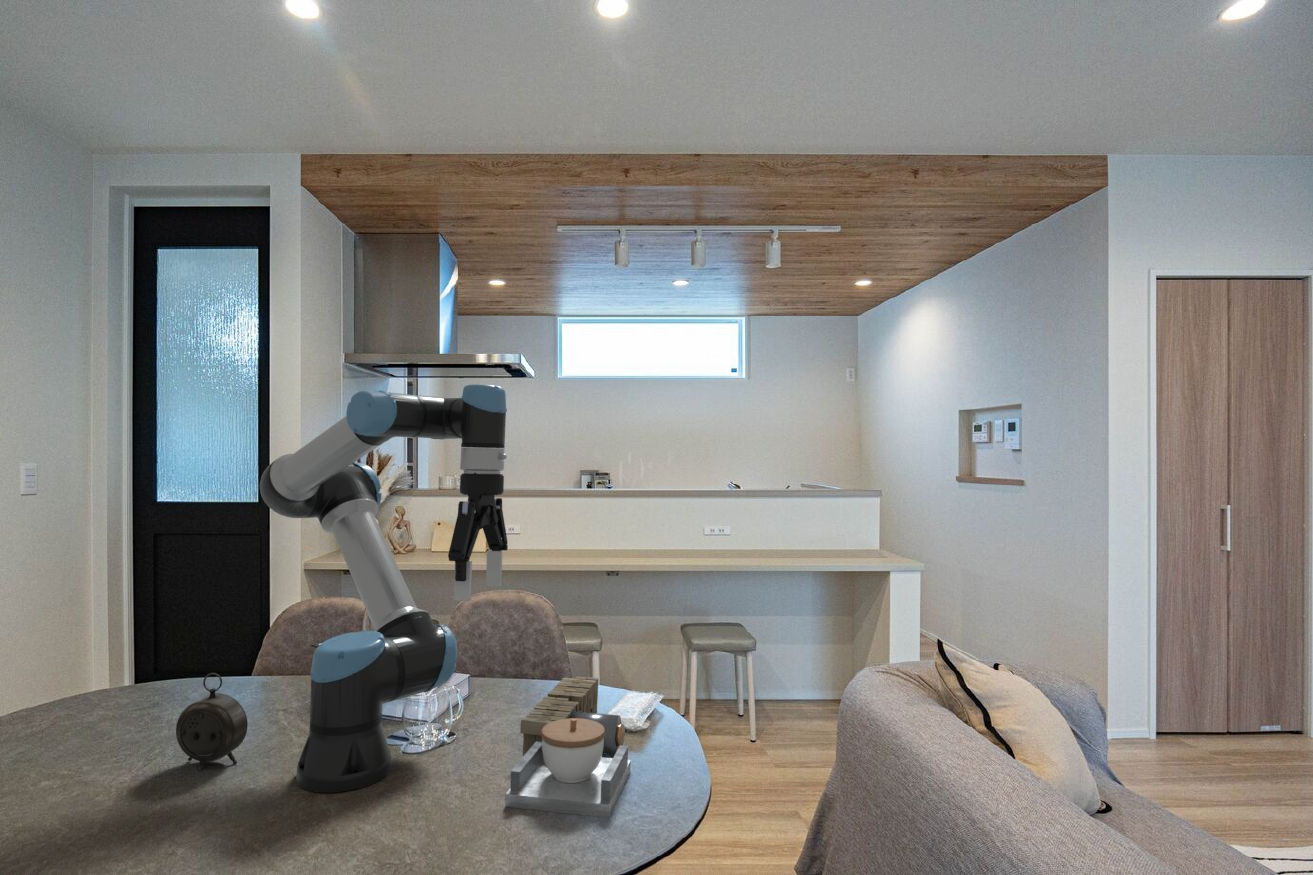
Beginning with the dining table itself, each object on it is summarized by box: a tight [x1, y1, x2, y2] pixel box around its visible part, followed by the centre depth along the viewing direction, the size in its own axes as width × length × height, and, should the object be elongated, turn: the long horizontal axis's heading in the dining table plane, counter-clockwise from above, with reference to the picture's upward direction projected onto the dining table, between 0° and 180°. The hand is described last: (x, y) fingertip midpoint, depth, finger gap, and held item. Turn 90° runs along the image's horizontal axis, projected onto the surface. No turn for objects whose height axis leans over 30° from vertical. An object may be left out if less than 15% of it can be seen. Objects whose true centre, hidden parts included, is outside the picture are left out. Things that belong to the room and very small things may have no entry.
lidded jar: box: [541, 718, 605, 783], centre depth 122 cm, size 11×11×9 cm
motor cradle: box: [504, 712, 632, 819], centre depth 127 cm, size 17×28×7 cm, turn 171°
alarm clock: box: [175, 672, 249, 771], centre depth 128 cm, size 11×5×16 cm, turn 85°
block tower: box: [519, 676, 599, 757], centre depth 145 cm, size 8×8×29 cm
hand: (478, 593), depth 127 cm, fingers open, 13 cm apart
